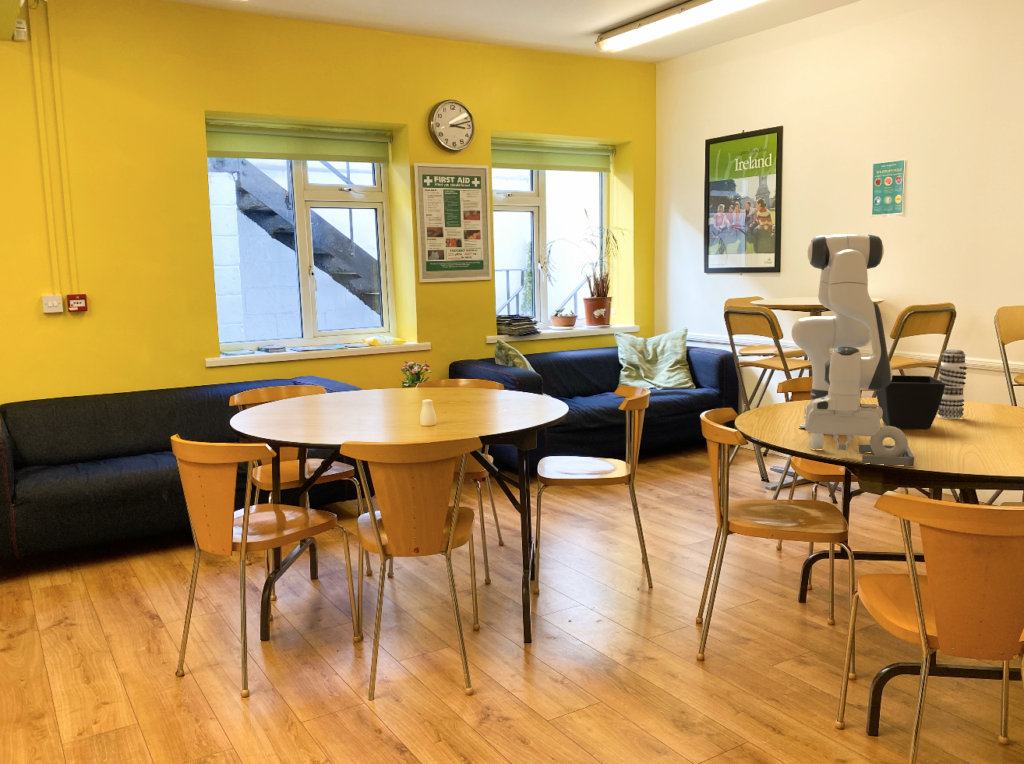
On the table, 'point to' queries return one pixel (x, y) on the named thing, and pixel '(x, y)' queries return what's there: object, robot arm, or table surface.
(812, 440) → the salt shaker
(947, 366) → the decorative candle
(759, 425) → the table surface
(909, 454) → the tray
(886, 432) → the donut
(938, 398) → the flower pot
